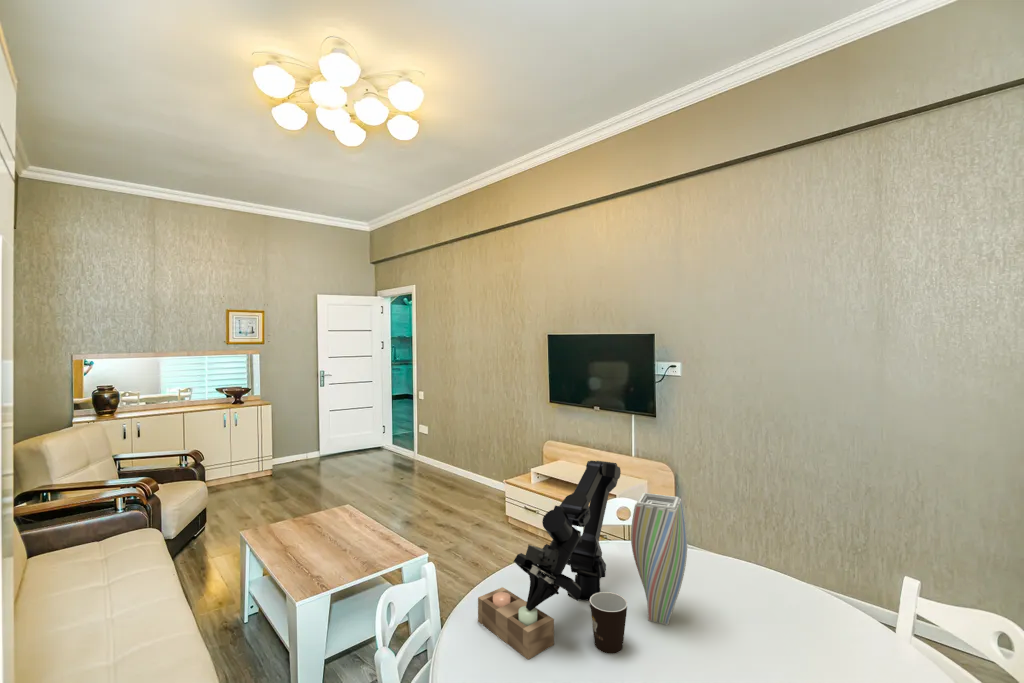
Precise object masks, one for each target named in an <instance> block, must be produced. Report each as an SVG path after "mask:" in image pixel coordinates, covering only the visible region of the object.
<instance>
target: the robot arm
mask: <svg viewBox="0 0 1024 683" xmlns="http://www.w3.org/2000/svg"><path fill="white" fill-rule="evenodd" d="M585 467H586V468H585V470H584V472H583V474H582V476H581V478H580V479H579V482H578V484H577V486H576V487H575V489H574V491H573V492H572V493H571V494H569V495H568V494H567V496H565V497H564V499H563V500H562V502H561V504H560V505H554V507H553V509H551V510H549V511H548V512H546V513H545V515H543V517H542V521H541V522H542V527H543V529H544V530H545V531H546V532H547V534H548V536H549V537H550V538H551V542H550V544H548V543H546V544H545V545H544V546H543V547H538V546H534V545H530V544H528V546H527V550H526V553H525V554H524V553H522V552H520V553H519V554H517V555H516V556H515V558H514V560H513V563H514V564H515V565H516V566H518V567H519V568H520V569H521V570H522V571H523V572H524V573H526V574H527V575H528V577H529V581H530V582H529V589H528V590H529V591H528V594H527V601H526V602H527V604H526V608H527V609H528V610H529V611H531V610H532V609H534V608H535V607H536V608H537V607H538V606H539V605H541V604H542V603H544V601H546V600H547V599H549V598H551V597H553V596H554V595H559V594H560V592H559V590H560V588H562V589H563V590H565V591H566V592H567V596H568V597H569V598H570V599H573V600H575V601H577V602H578V601H579V600H580V601H581V600H582V601H589V602H590V597H591V596H592V595H593V594H594V593H599V592H601V579H602V578H605V577H606V573H607V564H606V562H605V560H604V559H603V557H602V556H603V551H602V548H601V545H600V537H601V532H602V527H603V522H604V518H605V514H606V509H607V503H608V500H609V495H610V493H611V492H612V491H613V490H614V489H615V488H616V487H617V484H618V481H619V479H620V477H621V467H620V466H618V463H617V462H613V461H612V462H610V461H603V460H588V461H587V463H586V466H585ZM574 526H575V527H580V528H583V531H582V532H581V530H578V529H576V528H575V527H574ZM566 566H570V570H571V573H574V574H575V576H574V580H573V578H571V577H570V576H567V575H565V574H563V572H564V570H565V567H566Z"/></svg>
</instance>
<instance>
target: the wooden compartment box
mask: <svg viewBox="0 0 1024 683" xmlns="http://www.w3.org/2000/svg"><path fill="white" fill-rule="evenodd" d="M498 592H505V593H508V594H509V595H510V603H509V604H507V605H505V606H503V607H500V608H499V607H498V606H496V605H495V604H493V595H494V594H495V593H498ZM526 604H527V601H526V600H525V599H522V597H519V596H518V595H516V594H515V593H513V592H511V591H510V590H508V589H506V587H503V586H501V587H500V588H497V589H494V590H492V591H490V592H488V593H485V594H483V595H480V596H478V597H477V623H479V624H481V626H484V628H486V629H487V630H489V631H490V632H491V633H493V635H495V636H497V637H498V638H499V639H500V640H501V641H502V642H504V643H506V645H508V646H510V648H512V649H514V650H515V651H516V652H517V653H519V654H520V655H522V656H523V657H524V658H526V659H527V660H530V659H532V658H534V657H536V656H537V655H539V654H541V653H542V652H544V651H546V650H548V649H550V648H552V647H553V646H554V645H555V618H553V617H552V616H550V615H549V614H547V613H545V612H544V611H542V610H540V609H538V608H537V606H536V607H535V608H536V609H537V622H535V623H533V624H531V625H529V626H526V625H524V624H523V623H521V622H520V621H519V609H520V608H521V607H523V606H526Z"/></svg>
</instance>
